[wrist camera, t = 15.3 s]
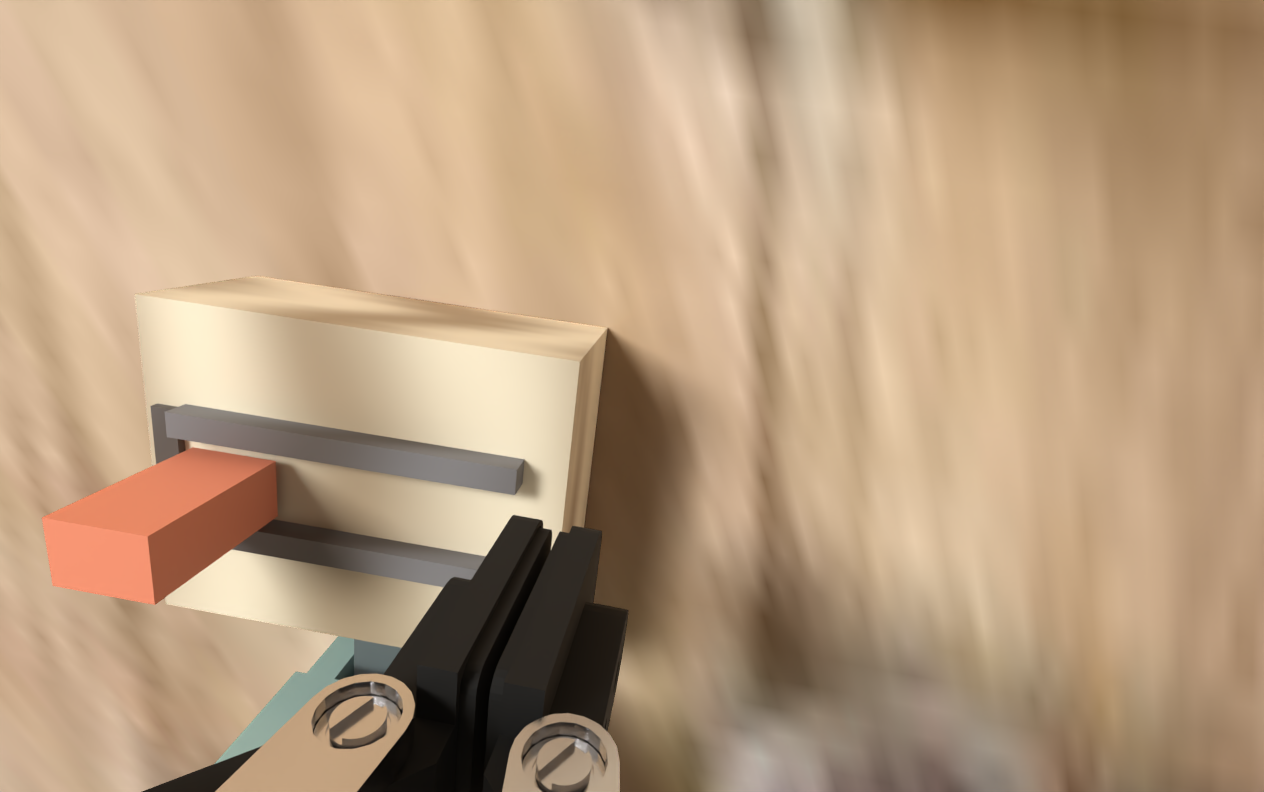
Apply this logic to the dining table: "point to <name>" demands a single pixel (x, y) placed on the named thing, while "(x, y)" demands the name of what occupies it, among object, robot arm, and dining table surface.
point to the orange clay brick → (160, 524)
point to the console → (368, 439)
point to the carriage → (295, 696)
